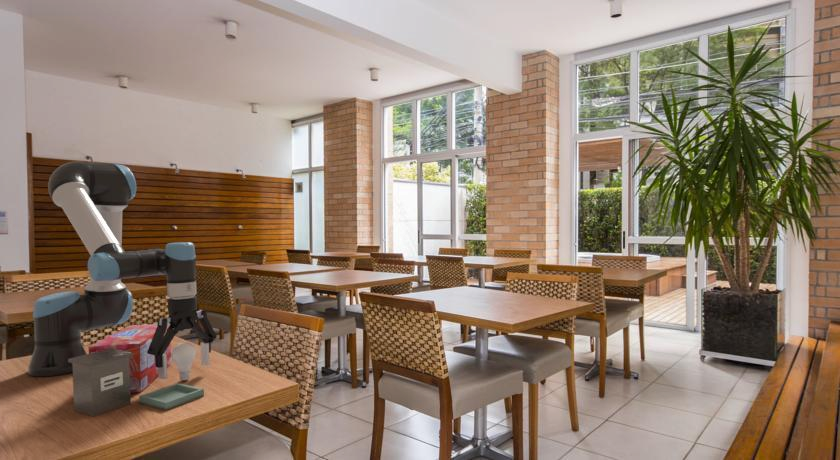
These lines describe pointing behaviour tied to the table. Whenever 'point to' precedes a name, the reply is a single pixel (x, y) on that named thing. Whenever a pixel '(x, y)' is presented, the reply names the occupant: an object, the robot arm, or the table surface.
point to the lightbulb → (184, 358)
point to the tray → (171, 396)
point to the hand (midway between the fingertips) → (185, 371)
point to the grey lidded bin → (101, 381)
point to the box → (135, 353)
